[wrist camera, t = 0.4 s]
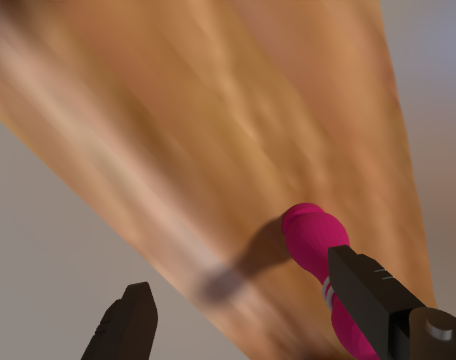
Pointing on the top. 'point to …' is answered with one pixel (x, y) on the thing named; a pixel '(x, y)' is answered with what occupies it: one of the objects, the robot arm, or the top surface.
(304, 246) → the pepper mill
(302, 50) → the top surface
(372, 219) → the top surface
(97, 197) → the top surface
